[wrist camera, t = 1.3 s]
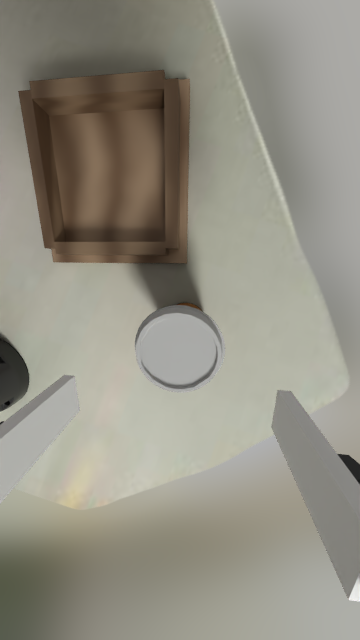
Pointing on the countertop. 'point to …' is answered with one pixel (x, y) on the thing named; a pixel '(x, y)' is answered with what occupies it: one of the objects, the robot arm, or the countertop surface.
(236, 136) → the countertop surface
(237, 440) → the countertop surface
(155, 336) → the disposable coffee cup
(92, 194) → the cup caddy
